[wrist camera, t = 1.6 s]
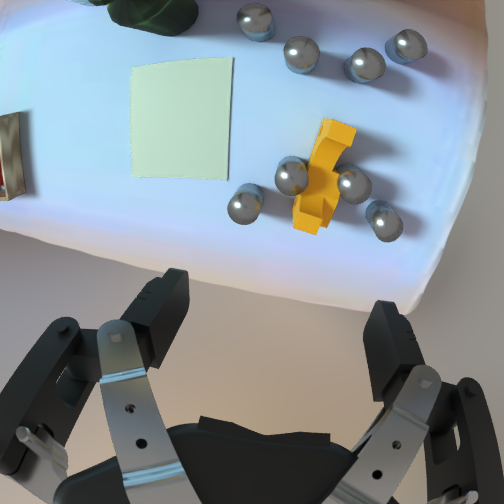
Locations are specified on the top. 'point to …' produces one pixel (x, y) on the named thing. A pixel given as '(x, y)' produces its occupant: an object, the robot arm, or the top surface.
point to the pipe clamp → (322, 177)
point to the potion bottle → (152, 14)
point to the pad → (181, 118)
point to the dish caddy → (11, 157)
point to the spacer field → (293, 168)
